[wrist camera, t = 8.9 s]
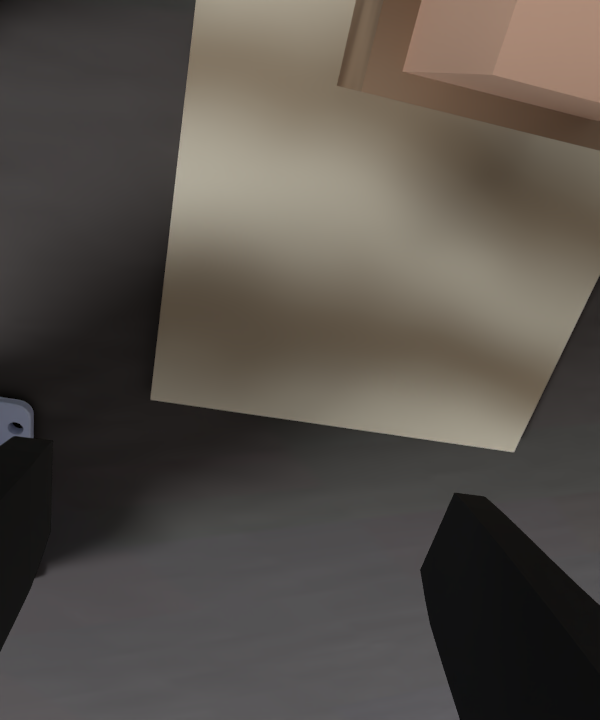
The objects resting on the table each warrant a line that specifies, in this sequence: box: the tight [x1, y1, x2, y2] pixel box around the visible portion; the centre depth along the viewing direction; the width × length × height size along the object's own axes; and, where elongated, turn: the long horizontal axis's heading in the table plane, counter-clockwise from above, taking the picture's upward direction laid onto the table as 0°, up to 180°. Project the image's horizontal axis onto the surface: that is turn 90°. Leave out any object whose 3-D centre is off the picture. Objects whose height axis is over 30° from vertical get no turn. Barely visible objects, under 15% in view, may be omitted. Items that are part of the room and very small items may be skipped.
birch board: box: [150, 0, 600, 452], centre depth 16 cm, size 20×14×1 cm
